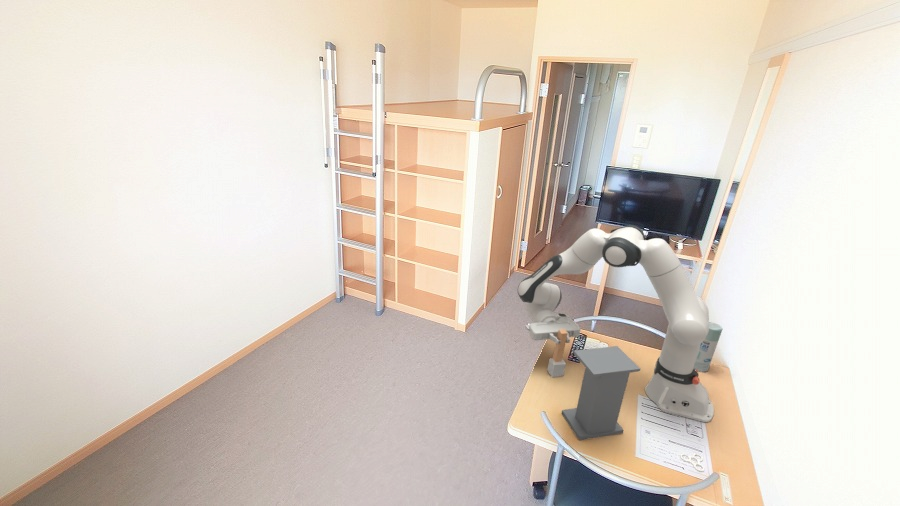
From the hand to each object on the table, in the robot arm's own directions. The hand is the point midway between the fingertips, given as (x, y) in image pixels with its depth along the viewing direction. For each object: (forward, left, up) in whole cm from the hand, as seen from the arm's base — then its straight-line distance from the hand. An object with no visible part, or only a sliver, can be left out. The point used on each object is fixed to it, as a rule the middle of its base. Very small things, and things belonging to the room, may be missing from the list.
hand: (563, 342), depth 156 cm
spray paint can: (-47, -41, -16) cm, 65 cm away
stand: (-17, +17, -16) cm, 29 cm away
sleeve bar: (+2, -2, -6) cm, 7 cm away
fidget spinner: (-48, +15, -16) cm, 53 cm away
